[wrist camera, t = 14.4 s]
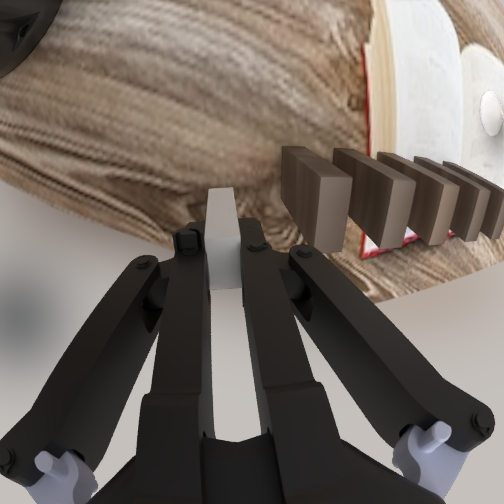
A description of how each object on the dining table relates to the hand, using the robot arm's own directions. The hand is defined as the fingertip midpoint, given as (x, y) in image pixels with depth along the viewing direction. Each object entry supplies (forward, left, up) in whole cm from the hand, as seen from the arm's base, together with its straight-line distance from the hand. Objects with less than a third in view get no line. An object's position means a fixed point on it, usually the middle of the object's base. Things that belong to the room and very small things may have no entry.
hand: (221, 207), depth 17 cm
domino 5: (+26, 0, -8) cm, 28 cm away
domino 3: (+16, 0, -8) cm, 18 cm away
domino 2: (+11, 0, -8) cm, 14 cm away
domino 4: (+21, 0, -8) cm, 23 cm away
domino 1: (+6, 0, -8) cm, 10 cm away
